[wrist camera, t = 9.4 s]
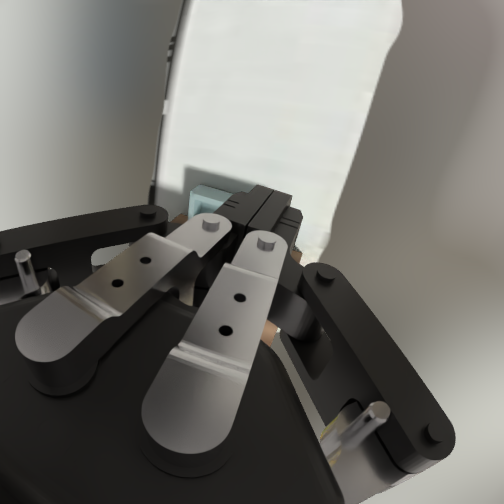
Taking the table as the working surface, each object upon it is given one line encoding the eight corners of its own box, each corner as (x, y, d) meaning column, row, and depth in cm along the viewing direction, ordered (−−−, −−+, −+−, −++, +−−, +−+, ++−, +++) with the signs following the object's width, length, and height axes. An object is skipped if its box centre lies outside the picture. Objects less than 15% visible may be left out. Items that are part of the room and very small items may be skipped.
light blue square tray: (200, 184, 45) (188, 192, 42) (292, 211, 43) (286, 221, 40) (193, 251, 52) (183, 262, 49) (273, 279, 49) (267, 292, 47)
